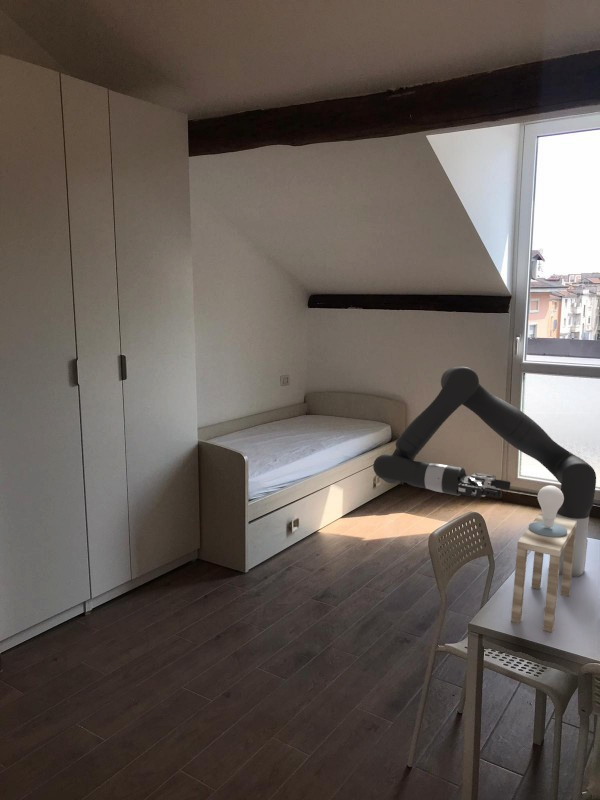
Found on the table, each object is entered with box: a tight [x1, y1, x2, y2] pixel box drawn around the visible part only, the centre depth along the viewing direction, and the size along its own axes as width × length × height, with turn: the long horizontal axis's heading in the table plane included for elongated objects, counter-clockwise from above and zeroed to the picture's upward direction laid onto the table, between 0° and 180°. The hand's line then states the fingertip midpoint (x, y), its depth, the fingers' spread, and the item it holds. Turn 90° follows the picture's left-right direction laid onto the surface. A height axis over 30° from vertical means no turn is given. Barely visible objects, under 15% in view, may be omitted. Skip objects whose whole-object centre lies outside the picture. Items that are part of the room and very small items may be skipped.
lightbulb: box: [536, 485, 564, 529], centre depth 161 cm, size 6×6×11 cm
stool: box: [510, 513, 577, 633], centre depth 164 cm, size 24×10×21 cm, turn 148°
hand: (505, 489), depth 167 cm, fingers open, 8 cm apart
